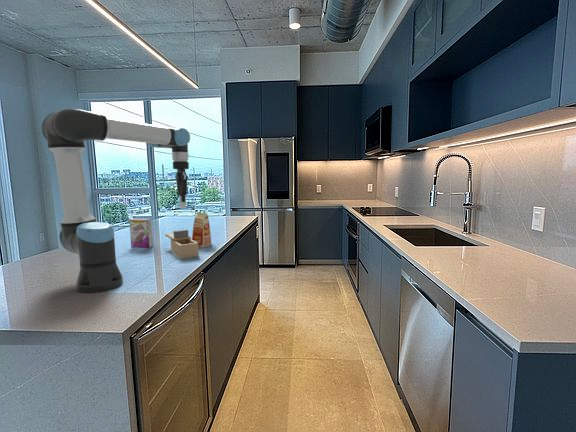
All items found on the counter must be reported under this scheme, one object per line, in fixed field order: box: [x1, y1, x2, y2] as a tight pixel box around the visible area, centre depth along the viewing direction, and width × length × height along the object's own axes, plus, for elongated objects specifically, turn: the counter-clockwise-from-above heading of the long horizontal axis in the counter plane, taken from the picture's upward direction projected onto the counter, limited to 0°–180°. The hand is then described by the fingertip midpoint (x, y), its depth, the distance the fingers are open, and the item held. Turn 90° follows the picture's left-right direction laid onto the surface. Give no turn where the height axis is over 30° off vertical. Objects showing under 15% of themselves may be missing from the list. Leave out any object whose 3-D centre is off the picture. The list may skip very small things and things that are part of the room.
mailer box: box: [170, 238, 200, 260], centre depth 168 cm, size 9×18×7 cm, turn 34°
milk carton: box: [191, 211, 212, 248], centre depth 189 cm, size 9×9×20 cm
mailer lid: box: [164, 229, 192, 241], centre depth 177 cm, size 9×18×5 cm, turn 34°
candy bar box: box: [129, 218, 154, 249], centre depth 186 cm, size 11×5×16 cm, turn 84°
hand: (183, 208), depth 164 cm, fingers closed
